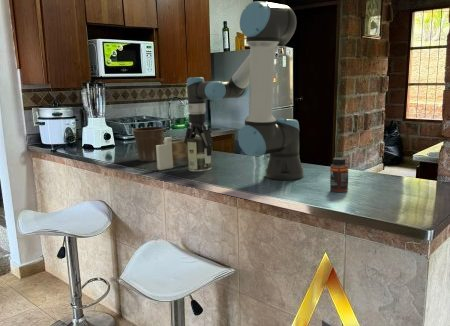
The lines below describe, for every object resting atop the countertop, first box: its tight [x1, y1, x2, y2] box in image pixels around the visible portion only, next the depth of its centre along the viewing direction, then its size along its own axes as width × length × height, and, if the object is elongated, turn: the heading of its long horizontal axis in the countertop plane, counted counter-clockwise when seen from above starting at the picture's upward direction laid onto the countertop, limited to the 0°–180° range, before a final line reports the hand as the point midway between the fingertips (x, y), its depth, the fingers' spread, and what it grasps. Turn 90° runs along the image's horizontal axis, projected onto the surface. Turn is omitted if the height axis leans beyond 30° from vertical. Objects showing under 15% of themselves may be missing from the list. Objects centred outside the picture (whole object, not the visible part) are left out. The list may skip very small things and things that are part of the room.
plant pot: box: [131, 126, 165, 163], centre depth 215 cm, size 16×16×16 cm
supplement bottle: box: [329, 157, 349, 193], centre depth 143 cm, size 6×6×11 cm
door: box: [172, 140, 188, 167], centre depth 198 cm, size 13×3×11 cm, turn 128°
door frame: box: [156, 134, 200, 171], centre depth 197 cm, size 2×28×14 cm, turn 128°
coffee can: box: [187, 136, 212, 172], centre depth 187 cm, size 10×10×14 cm
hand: (199, 161), depth 188 cm, fingers open, 13 cm apart
